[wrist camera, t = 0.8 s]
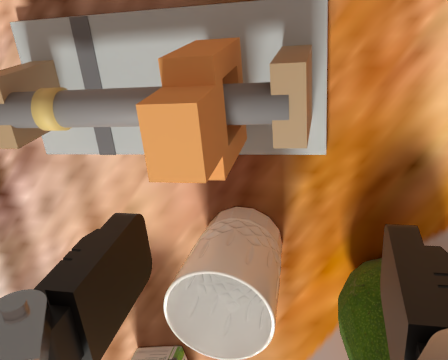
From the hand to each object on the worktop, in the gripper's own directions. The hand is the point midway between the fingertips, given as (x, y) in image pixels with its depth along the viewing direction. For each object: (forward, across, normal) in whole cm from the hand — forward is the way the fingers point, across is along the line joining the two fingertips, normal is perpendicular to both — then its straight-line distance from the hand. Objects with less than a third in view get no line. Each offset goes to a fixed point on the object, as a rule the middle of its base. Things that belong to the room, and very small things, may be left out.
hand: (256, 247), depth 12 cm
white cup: (+22, +5, +14) cm, 27 cm away
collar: (+19, +5, 0) cm, 20 cm away
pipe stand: (+22, +10, 0) cm, 24 cm away
